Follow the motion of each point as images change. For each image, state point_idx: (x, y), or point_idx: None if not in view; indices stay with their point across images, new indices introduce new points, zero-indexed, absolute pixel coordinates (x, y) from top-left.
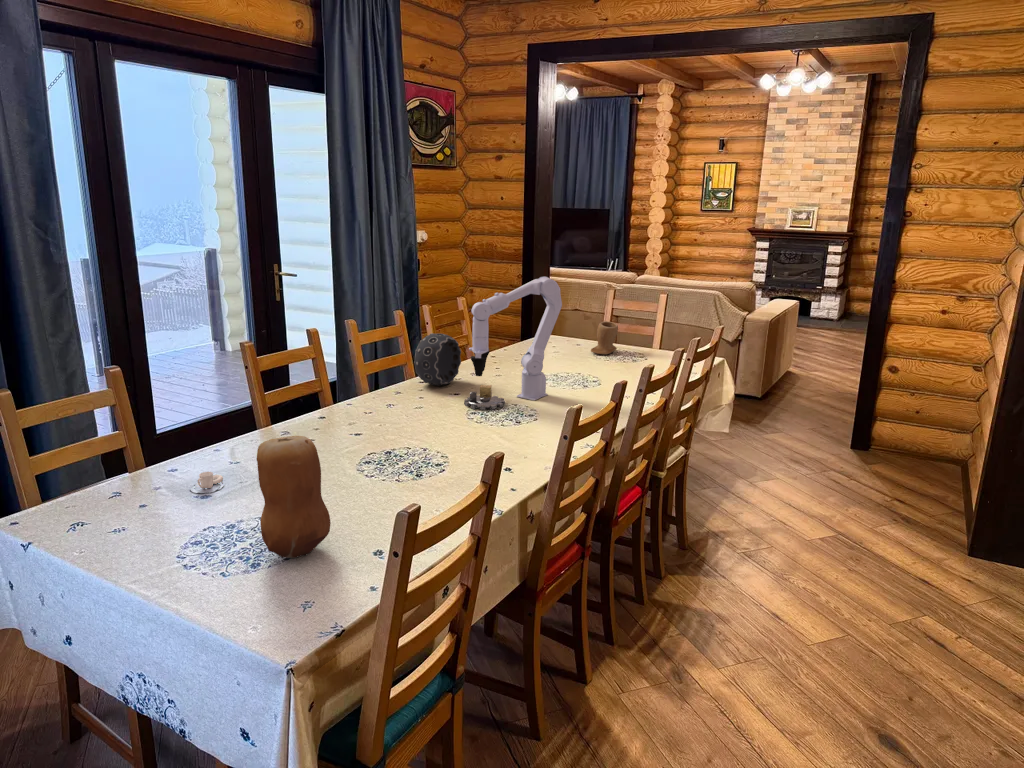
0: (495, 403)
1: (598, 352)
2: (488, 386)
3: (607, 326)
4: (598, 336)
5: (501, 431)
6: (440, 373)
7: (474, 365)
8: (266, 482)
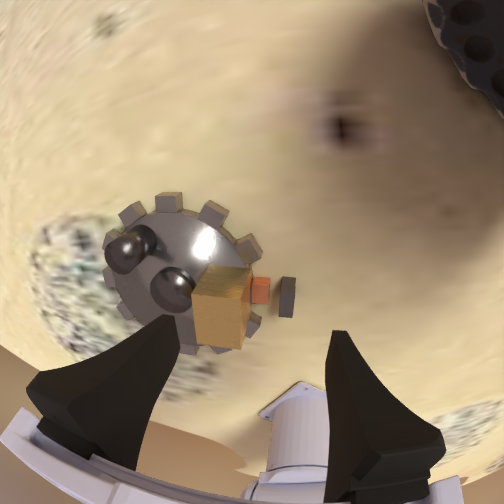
0: (149, 322)
1: None
2: (215, 335)
3: None
4: None
5: (22, 306)
6: (500, 45)
7: (96, 360)
8: None
